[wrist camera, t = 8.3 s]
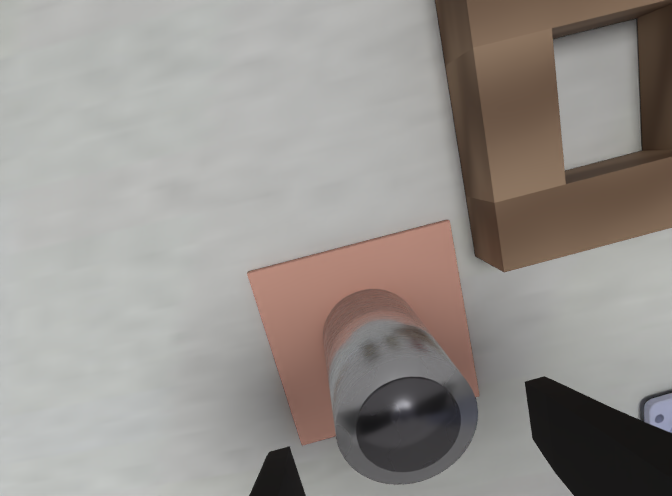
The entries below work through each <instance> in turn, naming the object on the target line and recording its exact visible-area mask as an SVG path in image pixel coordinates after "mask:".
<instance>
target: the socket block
mask: <svg viewBox="0 0 672 496" xmlns="http://www.w3.org/2000/svg"><path fill="white" fill-rule="evenodd" d="M435 3H436V9H437V15H438V22H439V28H440V35H441V41H442V47H443V54H444V60H445V66H446V73H447V79H448V85H449V92H450V98H451V105H452V111H453V117H454V124H455V130H456V136H457V143H458V149H459V155H460V162H461V168H462V175H463V181H464V187H465V194H466V200H467V206H468V213H469V219H470V225H471V232H472V238H473V245H474V251H475V256H476V257H477V258H479V259H481V260H483V261H485V262H486V263H488V264H490V265H492V266H494V267H495V268H497V269H499V270H501V271H503V272H507V271H511V270H515V269H519V268H522V267H526V266H530V265H534V264H537V263H541V262H545V261H549V260H552V259H556V258H560V257H563V256H567V255H571V254H575V253H578V252H582V251H586V250H590V249H593V248H597V247H601V246H605V245H608V244H612V243H616V242H620V241H623V240H627V239H631V238H635V237H638V236H642V235H646V234H649V233H653V232H657V231H661V230H664V229H668V228H672V0H435ZM636 18H637V21H638V47H639V73H640V99H641V125H642V151H639V152H635V153H631V154H627V155H624V156H620V157H616V158H612V159H608V160H604V161H600V162H597V163H593V164H589V165H585V166H581V167H577V168H573V169H570V170H566V171H565V170H564V159H563V148H562V137H561V126H560V115H559V103H558V92H557V81H556V70H555V59H554V48H553V39H555V38H559V37H563V36H567V35H571V34H575V33H579V32H583V31H587V30H591V29H595V28H599V27H603V26H607V25H611V24H615V23H619V22H624V21H628V20H632V19H636Z"/></svg>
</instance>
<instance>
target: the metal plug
mask: <svg viewBox="0 0 672 496" xmlns="http://www.w3.org/2000/svg"><path fill="white" fill-rule="evenodd" d="M323 345H324V352H325V360H326V367H327V374H328V382H329V389H330V396H331V404H332V411H333V418H334V425H335V433H336V439H337V443H338V446H339V449H340V451H341V453H342V455H343V457H344V458H345V460H346V461H347V462H348V463H349V465H350V466H351V467H352V468H354V469H355V470H356V471H357V472H359V473H360V474H361V475H363V476H365V477H367V478H369V479H372V480H374V481H377V482H381V483H386V484H410V483H415V482H420V481H423V480H426V479H429V478H431V477H433V476H435V475H438V474H439V473H441V472H443V471H444V470H446V469H447V468H448V467H450V466H451V465H452V464H453V463H455V462H456V461H457V460H458V459H459V458H460V456H461V455H462V454H463V453H464V452H465V450H466V449H467V447H468V446H469V444H470V442H471V440H472V438H473V436H474V433H475V430H476V426H477V420H478V408H477V402H476V398H475V395H474V393H473V390H472V388H471V387H470V385H469V383H468V382H467V381H466V379H465V378H464V377H463V375H462V374H461V373H460V371H459V370H458V369H457V367H456V366H455V365H454V364H453V362H452V361H451V360H450V358H449V357H448V356H447V354H446V353H445V352H444V350H443V349H442V348H441V346H440V345H439V344H438V342H437V341H436V340H435V339H434V337H433V336H432V335H431V333H430V332H429V331H428V329H427V328H426V327H425V325H424V324H423V323H422V321H421V320H420V319H419V318H418V316H417V315H416V314H415V312H414V311H413V310H412V308H411V307H410V306H409V305H408V303H407V302H406V301H405V300H403V299H402V298H401V297H399V296H398V295H396V294H394V293H392V292H389V291H386V290H381V289H365V290H361V291H357V292H354V293H352V294H350V295H348V296H346V297H345V298H343V299H342V300H341V301H340V302H338V303H337V304H336V305H335V306H334V308H333V309H332V310H331V312H330V313H329V315H328V317H327V319H326V321H325V324H324V328H323Z"/></svg>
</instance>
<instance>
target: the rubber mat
mask: <svg viewBox="0 0 672 496" xmlns="http://www.w3.org/2000/svg"><path fill="white" fill-rule="evenodd" d="M247 275H248V278H249V281H250V284H251V287H252V290H253V294H254V297H255V300H256V303H257V306H258V309H259V312H260V316H261V319H262V322H263V325H264V328H265V331H266V334H267V338H268V341H269V344H270V347H271V350H272V353H273V356H274V359H275V363H276V366H277V369H278V372H279V375H280V378H281V381H282V385H283V388H284V391H285V394H286V397H287V400H288V403H289V406H290V410H291V413H292V416H293V419H294V422H295V425H296V428H297V432H298V435H299V438H300V441H301V444H302V445H306V444H310V443H313V442H317V441H320V440H324V439H327V438H331V437H335V436H336V433H335V425H334V418H333V411H332V404H331V396H330V389H329V382H328V374H327V367H326V360H325V352H324V345H323V328H324V324H325V321H326V319H327V317H328V315H329V313H330V312H331V310H332V309H333V308H334V306H335V305H336V304H337V303H338V302H340V301H341V300H342V299H343V298H345V297H346V296H348V295H350V294H352V293H354V292H357V291H361V290H365V289H381V290H386V291H389V292H392V293H394V294H396V295H398V296H399V297H401V298H402V299H403V300H405V301H406V302H407V303H408V305H409V306H410V307H411V308H412V310H413V311H414V312H415V314H416V315H417V316H418V318H419V319H420V320H421V321H422V323H423V324H424V325H425V327H426V328H427V329H428V331H429V332H430V333H431V335H432V336H433V337H434V339H435V340H436V341H437V342H438V344H439V345H440V346H441V348H442V349H443V350H444V352H445V353H446V354H447V356H448V357H449V358H450V360H451V361H452V362H453V364H454V365H455V366H456V367H457V369H458V370H459V371H460V373H461V374H462V375H463V377H464V378H465V379H466V381H467V382H468V383H469V385H470V387H471V388H472V390H473V393H474V395H475V397H478V396H479V390H478V384H477V378H476V372H475V366H474V360H473V355H472V349H471V343H470V337H469V331H468V325H467V319H466V314H465V308H464V302H463V296H462V290H461V284H460V278H459V273H458V267H457V261H456V255H455V249H454V243H453V237H452V232H451V226H450V221H449V220H444V221H440V222H436V223H432V224H429V225H425V226H421V227H417V228H413V229H409V230H406V231H402V232H398V233H394V234H390V235H387V236H383V237H379V238H375V239H371V240H367V241H364V242H360V243H356V244H352V245H348V246H344V247H341V248H337V249H333V250H329V251H325V252H321V253H318V254H314V255H310V256H306V257H302V258H298V259H295V260H291V261H287V262H283V263H279V264H275V265H272V266H268V267H264V268H260V269H256V270H252V271H249V272H248V273H247Z"/></svg>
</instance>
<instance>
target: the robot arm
mask: <svg viewBox="0 0 672 496" xmlns="http://www.w3.org/2000/svg"><path fill="white" fill-rule="evenodd" d="M525 387H526V394H527V402H528V409H529V416H530V424H531V431H532V438H533V440H534V442H535V443H536V445H537V446H538V448H539V449H540V451H541V452H542V454H543V455H544V457H545V458H546V460H547V461H548V463H549V464H550V466H551V467H552V469H553V470H554V472H555V473H556V474H557V475H558V477H559V478H560V479H561V480H562V482H563V483H564V484H565V485H566V486H567V488H568V489H569V490H570V491H571V492H572V494H573V495H574V496H672V393H670V394H666V395H663V396H659V397H656V398H652V399H650V400H648V401H647V402H646V403H645V405H644V421H645V422H643V421H641V420H639V419H636V418H634V417H632V416H629V415H627V414H625V413H623V412H620V411H618V410H616V409H614V408H611V407H609V406H607V405H605V404H603V403H601V402H598V401H596V400H594V399H592V398H590V397H588V396H586V395H583V394H581V393H579V392H577V391H575V390H573V389H571V388H569V387H567V386H564V385H562V384H560V383H558V382H556V381H554V380H552V379H549V378H547V377H545V376H544V377H540V378H537V379H533V380H530V381H526V382H525ZM249 496H306V495H305V492H304V489H303V486H302V483H301V480H300V477H299V474H298V471H297V468H296V465H295V462H294V459H293V456H292V453H291V450H290V446H289V447H286V448H282V449H278V450H275V451H271V452H269V453H268V455H267V456H266V459H265V461H264V463H263V466H262V468H261V470H260V473H259V475H258V477H257V480H256V482H255V484H254V486H253V488H252V491H251V493H250V495H249Z"/></svg>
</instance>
